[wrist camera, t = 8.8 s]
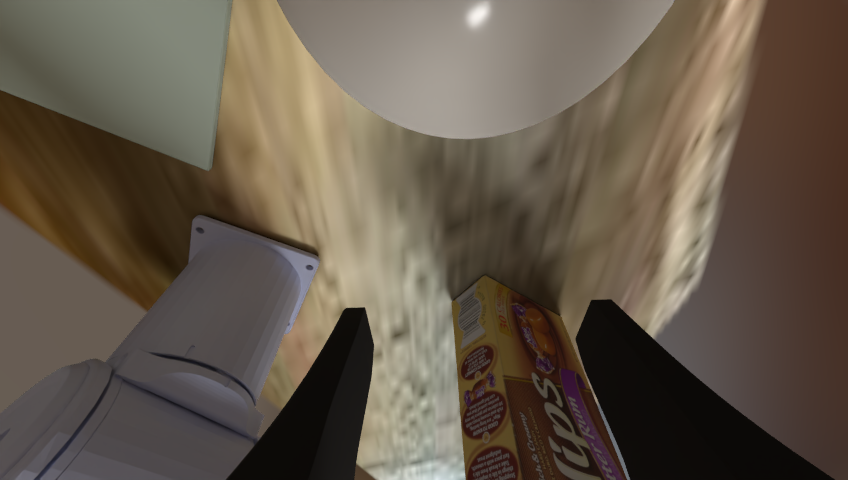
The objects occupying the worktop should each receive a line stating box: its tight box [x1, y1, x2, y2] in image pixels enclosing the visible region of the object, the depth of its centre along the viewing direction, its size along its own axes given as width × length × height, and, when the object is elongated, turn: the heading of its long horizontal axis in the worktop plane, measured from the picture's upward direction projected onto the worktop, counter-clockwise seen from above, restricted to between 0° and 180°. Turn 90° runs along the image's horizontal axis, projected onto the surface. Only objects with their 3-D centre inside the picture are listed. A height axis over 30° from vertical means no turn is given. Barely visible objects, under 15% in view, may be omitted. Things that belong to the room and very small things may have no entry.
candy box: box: [452, 275, 627, 480], centre depth 20 cm, size 9×4×15 cm, turn 55°
